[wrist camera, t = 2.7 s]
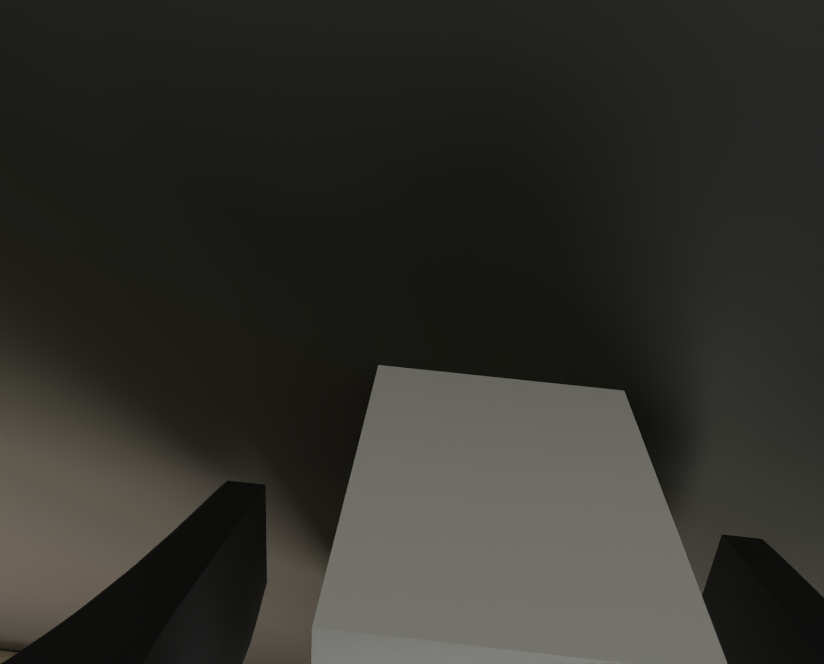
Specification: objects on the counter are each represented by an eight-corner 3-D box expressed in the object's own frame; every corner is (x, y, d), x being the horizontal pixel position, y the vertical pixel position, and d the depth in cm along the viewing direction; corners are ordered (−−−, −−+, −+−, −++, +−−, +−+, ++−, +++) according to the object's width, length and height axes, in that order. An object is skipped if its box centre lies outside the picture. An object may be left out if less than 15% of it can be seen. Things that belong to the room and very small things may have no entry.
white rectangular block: (623, 389, 12) (732, 674, 7) (571, 616, 14) (626, 960, 9) (379, 363, 12) (311, 627, 7) (364, 592, 14) (305, 918, 9)
